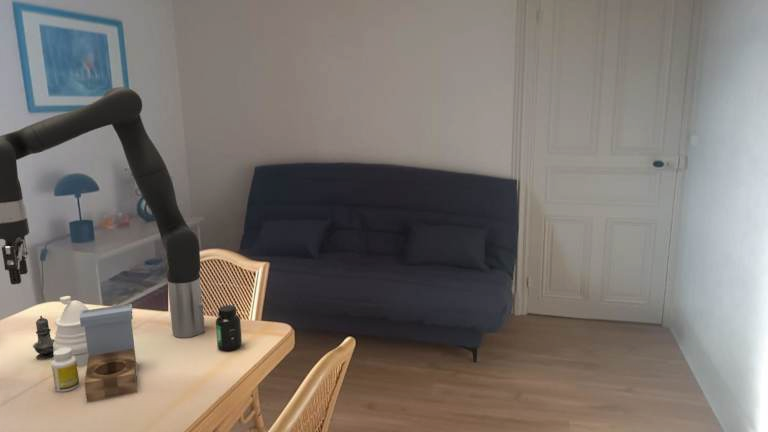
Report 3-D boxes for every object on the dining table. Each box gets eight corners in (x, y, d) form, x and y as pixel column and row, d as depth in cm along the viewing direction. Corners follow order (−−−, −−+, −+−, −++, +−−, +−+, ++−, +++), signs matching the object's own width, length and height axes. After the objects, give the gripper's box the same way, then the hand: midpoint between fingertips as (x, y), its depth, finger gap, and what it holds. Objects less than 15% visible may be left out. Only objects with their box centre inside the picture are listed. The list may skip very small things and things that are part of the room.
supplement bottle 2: (218, 353, 159) (215, 314, 156) (217, 343, 165) (214, 305, 163) (243, 350, 161) (240, 310, 159) (240, 340, 167) (238, 302, 165)
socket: (136, 365, 153) (134, 348, 151) (136, 391, 139) (134, 373, 138) (90, 373, 148) (88, 356, 147) (86, 401, 135) (84, 382, 134)
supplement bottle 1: (84, 383, 143) (79, 347, 141) (66, 394, 138) (61, 357, 136) (68, 380, 145) (63, 344, 143) (49, 390, 140) (44, 354, 138)
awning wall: (138, 361, 155) (131, 303, 151) (138, 370, 150) (131, 310, 146) (89, 370, 150) (81, 310, 146) (87, 379, 145) (79, 317, 142)
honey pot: (54, 372, 149) (44, 308, 145) (56, 352, 160) (47, 293, 157) (107, 361, 155) (100, 299, 151) (106, 343, 166) (99, 285, 162)
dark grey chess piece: (47, 361, 155) (41, 320, 153) (29, 359, 156) (23, 319, 154) (63, 351, 161) (58, 312, 158) (45, 350, 162) (40, 310, 159)
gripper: (21, 222, 138) (31, 285, 141) (31, 211, 151) (41, 268, 154) (-16, 225, 135) (-4, 289, 139) (-2, 213, 148) (8, 272, 151)
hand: (19, 278), depth 146 cm, fingers open, 8 cm apart
